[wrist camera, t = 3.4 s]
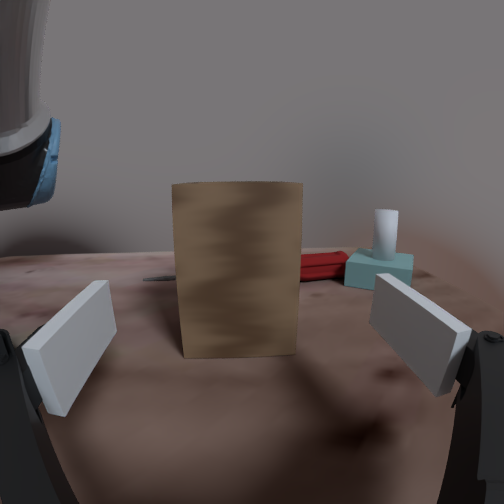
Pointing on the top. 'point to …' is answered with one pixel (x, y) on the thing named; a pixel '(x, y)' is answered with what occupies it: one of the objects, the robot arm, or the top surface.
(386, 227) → the post stand
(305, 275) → the screwdriver
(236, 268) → the brown tall open box
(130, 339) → the top surface
